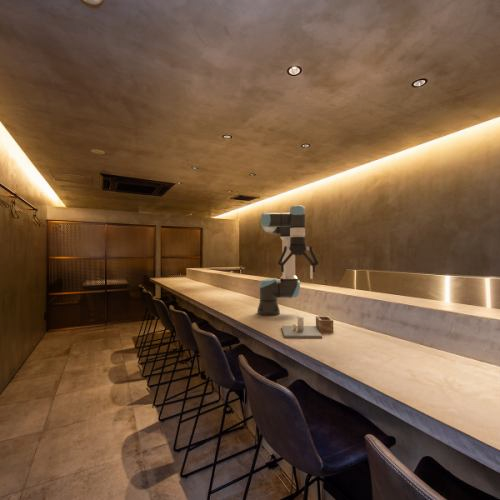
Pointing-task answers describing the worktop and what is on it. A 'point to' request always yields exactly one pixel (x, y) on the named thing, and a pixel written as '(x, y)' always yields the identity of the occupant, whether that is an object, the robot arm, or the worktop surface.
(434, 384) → the worktop surface
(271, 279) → the robot arm
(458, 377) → the worktop surface
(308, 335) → the base
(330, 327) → the open wooden box
